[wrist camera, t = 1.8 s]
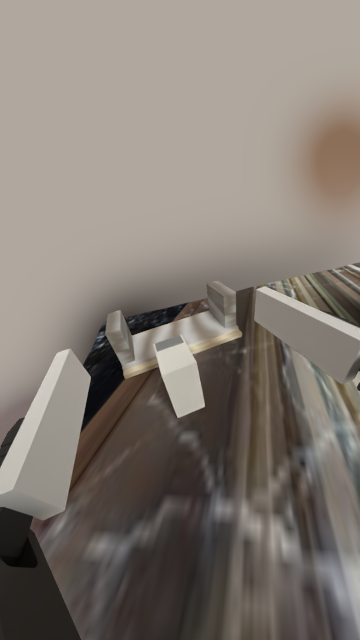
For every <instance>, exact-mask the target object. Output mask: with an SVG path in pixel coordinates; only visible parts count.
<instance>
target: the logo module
mask: <svg viewBox="0 0 360 640" xmlns="http://www.w3.org/2000/svg"><path fill="white" fill-rule="evenodd" d="M153 345H154V349H155V353H156V357H157V360H158V364H159V368H160V372H161V375H162V378H163V381H164V383H165V386H166V389H167V391H168V394H169V397H170V399H171V402H172V404H173V407H174V410H175V412H176V415H177V418H179V417H182V416H184V415H187V414H189V413H191V412H194V411H196V410H198V409H201V408H203V407H205V403H204V398H203V393H202V388H201V383H200V378H199V372H198V367H197V362H196V361H195V359H194V357H193V355H192V353H191V351H190V349H189V348H188V346H187V344H186V342H185V340H184V338H183V337H182V335H178V336H175V337H172V338H170V339H167V340H164V341H161V342H158V343H155V344H153Z"/></svg>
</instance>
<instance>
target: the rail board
mask: <svg viewBox="0 0 360 640" xmlns="http://www.w3.org/2000/svg"><path fill="white" fill-rule="evenodd" d="M207 293H208V302H209V310H208V311H205V312H202V313H199V314H196V315H193V316H190V317H187V318H184V319H181V320H178V321H175V322H172V323H169V324H166V325H163V326H160V327H157V328H154V329H151V330H148V331H145V332H142V333H139V334H136V335H133V336H132V335H131V333H130V331H129V328H128V326H127V324H126V322H125V319H124V317H123V315H122V313H121V311H120V310H119V311H116V312H112V313H109V314H108V318H107V325H106V333H105V334H106V336H107V338H108V340H109V342H110V344H111V346H112V347H113V349H114V351H115V353H116V355H117V357H118V358H119V360H120V362H121V364H122V369H123V371H124V377H125V379H127V378H130V377H133V376H135V375H138V374H141V373H144V372H146V371H149V370H152V369H154V368H157V367H159V364H158V360H157V357H156V353H155V349H154V345H153V344H155V343H158V342H161V341H164V340H167V339H170V338H172V337H175V336H178V335H182V337H183V338H184V340H185V342H186V344H187V346H188V348H189V349H190V351H191V353H192V355H193V354H195V353H198V352H201V351H203V350H206V349H209V348H212V347H214V346H217V345H220V344H222V343H225V342H228V341H231V340H233V339H236V338H239V337H241V336H242V332H241V331H240V330H239V329H238V326H237V325H236V292H235V291H233V290H231V289H230V288H228V287H226V286H224V285H223V284H221V283H220V282H218V281H215V282H211V283H208V284H207Z"/></svg>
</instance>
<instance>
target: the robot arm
mask: <svg viewBox="0 0 360 640" xmlns="http://www.w3.org/2000/svg"><path fill="white" fill-rule="evenodd" d="M254 321H256V322H257V323H259V324H260V325H261V326H263V327H264V328H265V329H267V330H268V331H269V332H271V333H272V334H274V335H275V336H276V337H278V338H279V339H280V340H282V341H283V342H284V343H286V344H287V345H289V346H290V347H291V348H293V349H294V350H295V351H297V352H298V353H299V354H301V355H302V356H304V357H305V358H306V359H308V360H309V361H310V362H312V363H313V364H314V365H316V366H317V367H319V368H320V369H321V370H323V371H324V372H325V373H327V374H328V375H329V376H331V377H332V378H334V379H335V380H336V381H338V382H339V383H340V384H344V383H346V382H348V381H351V380H353V379H354V378H355V376H356V375H357V373H358V371H360V325H358V324H356V323H353V322H349V320H346V319H344V318H341V317H339V316H337V315H335V314H333V313H330V312H326V311H322V310H317V309H315V308H313V307H311V306H308V305H306V304H304V303H302V302H299V301H297V300H295V299H293V298H290V297H288V296H286V295H283V294H281V293H279V292H277V291H274V290H272V289H270V288H268V287H262V288H259V289H256V301H255V317H254ZM90 379H91V377H90V375H89V374H88V373H87V371H86V370H85V368H84V367H83V366H82V364H81V363H80V361H79V360H78V359H77V357H76V356H75V354H74V353H73V352H72V350H71V349H67V350H64V351H61V352H58V353H57V354H56V356H55V358H54V360H53V362H52V364H51V366H50V368H49V370H48V372H47V375H46V376H45V378H44V380H43V382H42V384H41V386H40V388H39V390H38V392H37V394H36V396H35V399H34V400H33V403H32V405H31V407H30V409H29V411H28V413H27V415H26V417H24V418H21V419H19V420H18V421H17V422H16V424H15V425H14V426H13V427H12V428H11V430H10V431H9V432H8V433H7V436H6V437H5V439H4V441H3V443H2V445H1V449H0V640H81V639H80V636H79V634H78V632H77V630H76V627H75V625H74V623H73V620H72V618H71V616H70V614H69V611H68V609H67V607H66V604H65V602H64V600H63V598H62V595H61V593H60V591H59V588H58V586H57V584H56V581H55V579H54V577H53V575H52V572H51V570H50V568H49V565H48V563H47V561H46V559H45V556H44V554H43V552H42V549H41V547H40V545H39V543H38V540H37V538H36V536H35V533H34V532H33V531H32V530H31V529H30V526H31V522H32V519H33V517H34V518H37V519H40V520H45V519H47V518H50V517H52V516H54V515H56V514H58V513H61V512H63V511H65V507H66V502H67V497H68V492H69V487H70V481H71V476H72V471H73V466H74V461H75V456H76V451H77V446H78V441H79V436H80V430H81V425H82V420H83V415H84V410H85V405H86V400H87V395H88V390H89V385H90ZM357 389H358V390H359V391H360V383H359V384H358V386H357Z"/></svg>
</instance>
